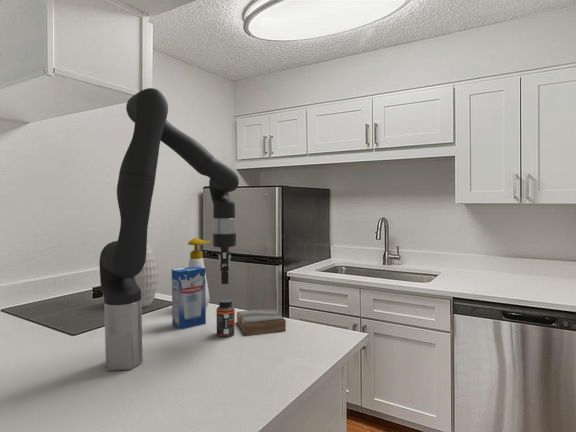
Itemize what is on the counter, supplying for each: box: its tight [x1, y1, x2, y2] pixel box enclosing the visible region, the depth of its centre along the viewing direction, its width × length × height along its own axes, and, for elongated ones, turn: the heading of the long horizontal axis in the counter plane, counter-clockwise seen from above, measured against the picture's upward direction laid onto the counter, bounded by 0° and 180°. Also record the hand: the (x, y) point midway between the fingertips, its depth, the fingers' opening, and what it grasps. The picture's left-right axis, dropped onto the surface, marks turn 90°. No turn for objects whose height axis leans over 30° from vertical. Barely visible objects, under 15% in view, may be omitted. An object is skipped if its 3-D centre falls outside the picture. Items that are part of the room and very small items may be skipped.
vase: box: [134, 242, 159, 308], centre depth 158 cm, size 13×13×28 cm
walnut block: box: [236, 307, 287, 336], centre depth 132 cm, size 14×14×4 cm
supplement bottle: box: [216, 298, 236, 338], centre depth 124 cm, size 6×6×11 cm
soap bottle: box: [187, 237, 211, 309], centre depth 151 cm, size 13×10×29 cm
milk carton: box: [171, 266, 207, 331], centre depth 133 cm, size 10×6×20 cm, turn 129°
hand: (225, 281), depth 123 cm, fingers open, 8 cm apart
